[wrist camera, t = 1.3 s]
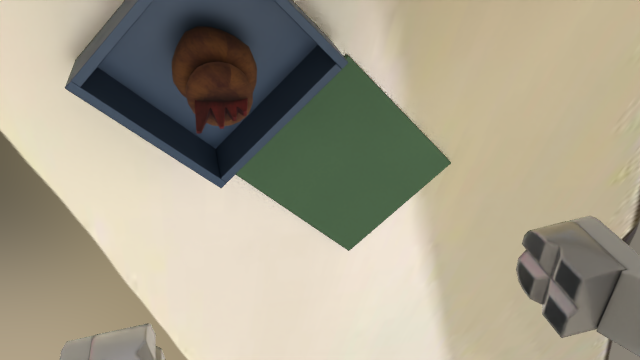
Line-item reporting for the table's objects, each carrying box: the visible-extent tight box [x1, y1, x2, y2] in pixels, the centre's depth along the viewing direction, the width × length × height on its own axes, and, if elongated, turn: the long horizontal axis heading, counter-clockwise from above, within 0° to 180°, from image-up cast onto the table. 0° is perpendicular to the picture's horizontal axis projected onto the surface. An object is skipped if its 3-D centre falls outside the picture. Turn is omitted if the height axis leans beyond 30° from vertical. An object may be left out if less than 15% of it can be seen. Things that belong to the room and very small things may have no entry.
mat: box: [236, 54, 451, 251], centre depth 55 cm, size 17×20×1 cm
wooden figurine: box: [172, 26, 257, 134], centre depth 38 cm, size 7×6×15 cm
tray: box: [65, 0, 348, 188], centre depth 42 cm, size 17×16×6 cm
